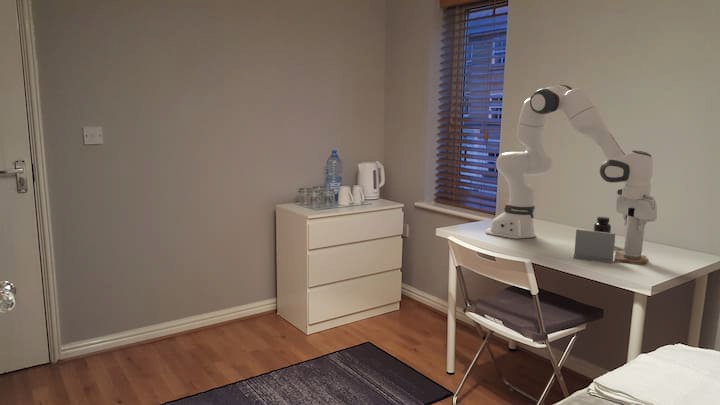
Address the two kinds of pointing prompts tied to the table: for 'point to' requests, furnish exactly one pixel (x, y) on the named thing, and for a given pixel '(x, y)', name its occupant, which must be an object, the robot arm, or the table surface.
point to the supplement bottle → (602, 225)
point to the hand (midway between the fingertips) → (633, 228)
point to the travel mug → (633, 237)
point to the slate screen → (594, 246)
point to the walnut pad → (621, 258)
